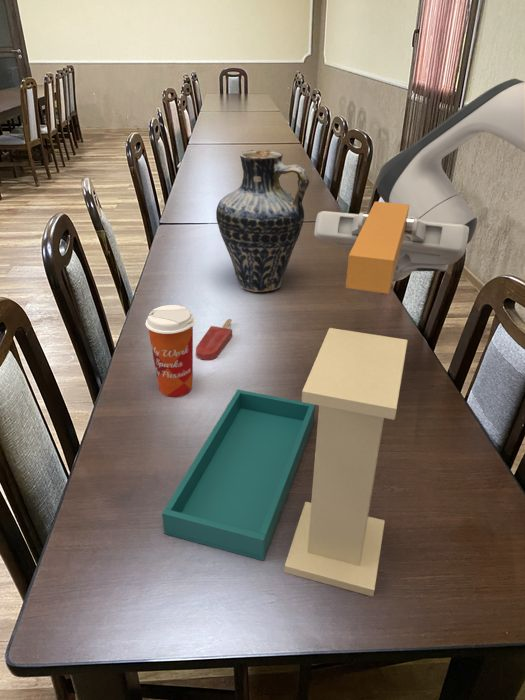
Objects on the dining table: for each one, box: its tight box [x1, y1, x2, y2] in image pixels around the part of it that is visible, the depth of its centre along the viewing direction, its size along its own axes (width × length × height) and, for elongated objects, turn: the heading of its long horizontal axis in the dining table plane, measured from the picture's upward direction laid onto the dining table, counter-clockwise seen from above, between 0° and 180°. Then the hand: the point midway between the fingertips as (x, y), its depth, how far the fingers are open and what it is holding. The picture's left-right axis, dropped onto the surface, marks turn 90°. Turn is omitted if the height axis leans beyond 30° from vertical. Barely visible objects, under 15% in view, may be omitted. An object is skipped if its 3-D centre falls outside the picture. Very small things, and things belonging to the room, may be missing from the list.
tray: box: [161, 389, 316, 562], centre depth 73 cm, size 27×13×4 cm, turn 163°
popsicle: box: [195, 318, 233, 361], centre depth 105 cm, size 4×2×15 cm
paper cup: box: [145, 304, 197, 398], centre depth 88 cm, size 8×8×14 cm
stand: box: [283, 327, 408, 598], centre depth 57 cm, size 12×10×26 cm
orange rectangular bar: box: [345, 201, 409, 295], centre depth 62 cm, size 20×4×4 cm, turn 163°
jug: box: [215, 149, 310, 293], centre depth 121 cm, size 21×19×30 cm
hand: (387, 221), depth 67 cm, fingers closed on orange rectangular bar, 4 cm apart
